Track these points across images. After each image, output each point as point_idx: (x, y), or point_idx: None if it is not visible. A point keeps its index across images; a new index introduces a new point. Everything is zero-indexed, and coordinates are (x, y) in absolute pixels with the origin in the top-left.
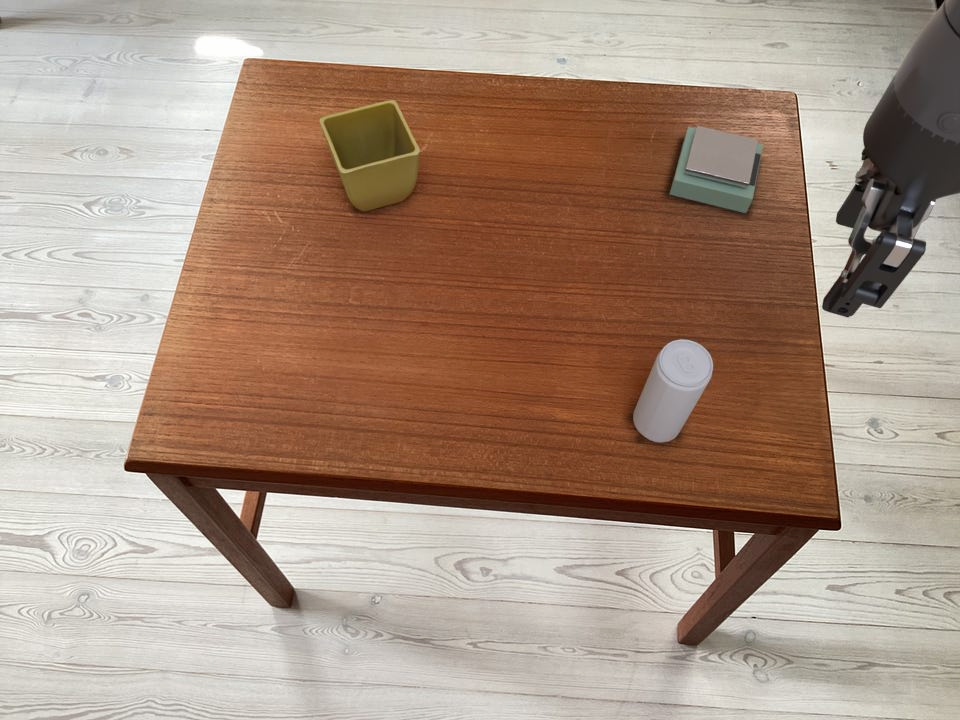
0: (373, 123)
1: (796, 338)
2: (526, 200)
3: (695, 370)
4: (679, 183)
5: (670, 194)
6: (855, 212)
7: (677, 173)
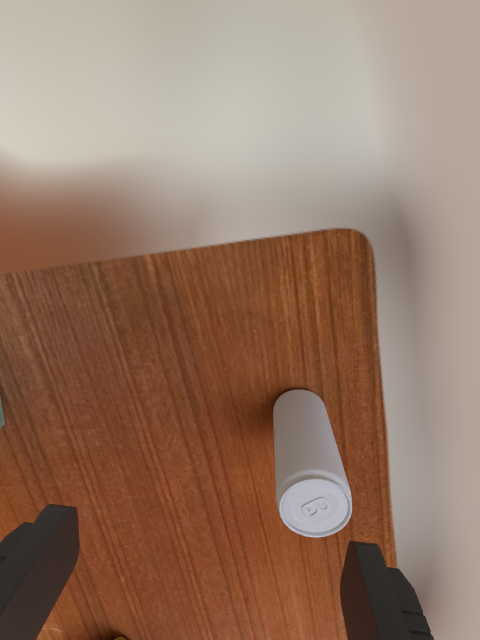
0: None
1: (147, 273)
2: None
3: (324, 497)
4: None
5: (4, 423)
6: (46, 589)
7: None
